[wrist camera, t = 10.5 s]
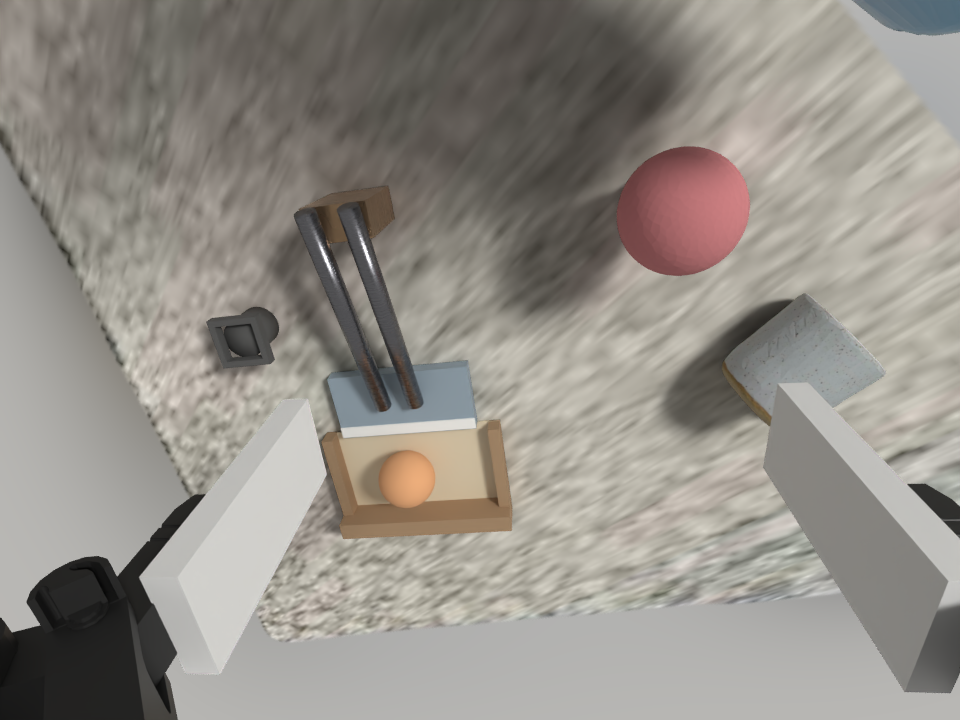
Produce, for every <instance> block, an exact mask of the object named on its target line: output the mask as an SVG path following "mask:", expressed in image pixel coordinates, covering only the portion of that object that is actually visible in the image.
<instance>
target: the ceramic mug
mask: <svg viewBox="0 0 960 720" xmlns="http://www.w3.org/2000/svg"><path fill="white" fill-rule="evenodd" d="M722 372H723V374H724V376H725V378H726V379H727V381H728V382H729V383H730V385H731V386H732V387H733V389H734V390H735V391H736V392H737V394H738V395H739V396H740V397H741V398H742V399H743V401H744V402H745V403H746V404H747V405H748V406H749V407H750V408H751V409H752V410H753V411H754V412H755V413H756V414H757V415H758V416H759V417H760V419H761V420H763V421H764V422H765V423H766V424H767V425H769V426H770V425H771V419H772V413H773V407H774V401H775V396H776V390H777V384H778V383H805V382H808V383H809V384H810V385H811V386H812V387H813V388H814V389H815V390H816V391H817V392H818V393H819V394H820V395H821V396H822V397H823V398H824V400H825V401H826V402H827V403H828V404H829V405H830V406H831V407H832V408H833V407H835V406H837V405H838V404H840V403H841V402H842V401H844V400H846V399H847V398H849V397H851V396H852V395H854V394H856V393H857V392H859V391H861V390H862V389H864V388H866V387H867V386H869V385H871V384H872V383H874V382H876V381H877V380H879V379H880V378H882V377H883V376H884V375H885V374H886V371H885V369H884V368H883V366H882V365H881V364H880V362H878V361H877V359H876V358H874V356H873V355H872V354H871V353H870V352H869V351H868V350H867V349H866V348H865V347H864V346H863V345H862V344H861V343H860V342H859V341H858V340H857V339H856V337H855V336H854V335H853V334H852V333H851V332H850V331H849V330H848V329H847V328H846V327H845V326H843V325H842V324H841V323H840V322H839V321H837V319H836V318H835V317H834V316H833V315H832V314H830V313H829V312H828V311H827V310H826V309H825V308H824V307H822V306H821V305H820V304H819V303H818V302H817V301H816V300H815V299H813V298H812V297H811V296H809V295H808V294H805V293H804V294H802V295H800V296H799V297H797V298H796V299H795V300H794V301H793V302H791V303H790V304H789V305H788V306H787V307H785V308H784V309H783V310H782V311H781V312H780V313H778V314H777V315H776V316H774V317H773V318H772V319H771V320H769V321H768V322H767V323H766V324H764V325H763V326H762V327H761V328H760V329H758V330H757V331H756V332H755V333H754V334H752V335H751V336H750V337H749V338H747V339H746V340H745V341H743V342H742V343H741V344H739V345H738V346H737V347H736V348H735V349H734V350H733V351H732V352H731V353H730V354H729V355H728V356H727V357H726V359H725V360H724V361H723V364H722Z"/></svg>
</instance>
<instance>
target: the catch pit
mask: <svg viewBox="0 0 960 720" xmlns="http://www.w3.org/2000/svg"><path fill="white" fill-rule="evenodd" d="M321 443H322V447H323V450H324V453H325V456H326V460H327V463H328V466H329V469H330V473H331V476H332V479H333V482H334V486H335V489H336V492H337V495H338V499H339V502H340V505H341V508H342V512H343V515H344V516H343V518H342V521H341V523H340V525H339V527H340V530H341V533H342V536H343V539H354V538H374V537H394V536H415V535H435V534H455V533H476V532H496V531H512V502H511V495H510V488H509V481H508V474H507V467H506V460H505V452H504V445H503V438H502V431H501V424H500V420H487V421H477V428H476V429H464V430H450V431H437V432H423V433H410V434H396V435H382V436H369V437H355V438H343V435H342V431H341V432H328V433H327V434H326V435H325V437H324V439H323V440H322V442H321ZM405 450H411V451H415V452H418V453H421V454H422V455H424V456H425V457H426V458H427V459H428V460H429V461H430V462H431V464H432V466H433V468H434V472H435V486H434V489H433V491H432V493H431V495H430V496H429V497H428V499H427V500H426V501H424V502H423V503H422V504H420V505H418V506H416V507H412V508H400V507H397V506H394V505H393V504H391V503H390V502H388V501H387V500H386V499H385V498H384V496H383V495H382V493H381V491H380V488H379V482H378V480H379V472H380V469H381V467H382V465H383V463H384V462H385V461H386V460H387V459H388V458H389V457H390V456H391V455H393V454H395V453H397V452H400V451H405Z"/></svg>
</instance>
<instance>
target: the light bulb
mask: <svg viewBox="0 0 960 720" xmlns="http://www.w3.org/2000/svg"><path fill="white" fill-rule="evenodd" d="M749 210H750V200H749V193H748V189H747V186H746V183H745V181H744V179H743V177H742V175H741V173H740V172H739V171H738V169H737V168H736V167H735V166H734V165H733V164H732V163H731V162H730V161H729V160H728V159H727V158H725V157H724V156H722V155H721V154H718V153H716V152H714V151H711V150H709V149H705V148H701V147H678V148H673V149H669V150H666V151H663V152H661V153H659V154H657V155H655V156H653V157H651V158H650V159H648V160H647V161H645V162H644V163H643V164H642V165H641V166H640V167H638V168H637V170H636V171H635V172H634V173H633V174H632V175H631V177H630V178H629V180H628V181H627V183H626V185H625V186H624V188H623V190H622V193H621V196H620V199H619V202H618V208H617V226H618V231H619V235H620V238H621V240H622V243H623V244H624V246H625V248H626V250H627V251H628V252H629V254H630V255H631V256H632V257H633V258H634V259H635V260H636V261H637V262H638V263H640V264H641V265H643V266H644V267H646V268H647V269H650V270H652V271H654V272H657V273H660V274H665V275H673V276H682V275H690V274H695V273H698V272H701V271H704V270H706V269H708V268H710V267H712V266H714V265H716V264H717V263H719V262H720V261H721V260H723V259H724V258H725V257H726V256H727V255H728V254H729V253H730V252H731V251H732V250H733V249H734V248H735V246H736V245H737V244H738V242H739V240H740V239H741V237H742V235H743V233H744V231H745V228H746V225H747V222H748V217H749Z"/></svg>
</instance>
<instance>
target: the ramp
mask: <svg viewBox="0 0 960 720" xmlns="http://www.w3.org/2000/svg"><path fill="white" fill-rule="evenodd" d="M294 218H295V221H296V223H297V226H298V228H299V230H300V233H301V235H302V237H303V240H304V242H305V244H306V247H307V249H308V251H309V254H310V256H311V258H312V261H313V263H314V265H315V268H316V270H317V272H318V275H319V277H320V280H321V282H322V284H323V287H324V289H325V291H326V294H327V296H328V298H329V301H330V303H331V305H332V308H333V310H334V312H335V315H336V317H337V319H338V322H339V324H340V326H341V329H342V331H343V334H344V336H345V338H346V341H347V343H348V345H349V348H350V350H351V352H352V355H353V357H354V359H355V362H356V364H357V366H358V369H359V371H360V373H361V376H362V378H363V381H364V383H365V385H366V388H367V390H368V392H369V395H370V397H371V399H372V402H373V404H374V406H375V409H376V410H377V411H378V412H385V411H387V410H389V409H390V407H391V405H392V403H391V401H390V398H389V396H388V393H387V390H386V388H385V385H384V383H383V380H382V378H381V375H380V373H379V370H378V367H377V365H376V362H375V360H374V357H373V355H372V352H371V350H370V347H369V345H368V342H367V339H366V337H365V334H364V332H363V329H362V327H361V324H360V322H359V319H358V316H357V314H356V311H355V309H354V306H353V304H352V301H351V299H350V296H349V293H348V291H347V288H346V286H345V283H344V281H343V278H342V276H341V273H340V270H339V268H338V265H337V263H336V260H335V258H334V255H333V253H332V250H331V248H330V245H329V243H337V242H345V241H348V243H349V246H350V248H351V251H352V254H353V257H354V259H355V262H356V265H357V268H358V270H359V273H360V276H361V279H362V281H363V284H364V287H365V290H366V292H367V295H368V298H369V301H370V303H371V306H372V309H373V312H374V314H375V317H376V320H377V323H378V325H379V328H380V331H381V334H382V336H383V339H384V342H385V345H386V347H387V350H388V353H389V356H390V359H391V361H392V364H393V367H394V370H395V372H396V375H397V378H398V381H399V383H400V386H401V389H402V392H403V394H404V397H405V400H406V403H407V405H408V407H409V408H410V409H418V408H420V407H422V405H423V404H424V400H423V397H422V394H421V391H420V388H419V385H418V382H417V379H416V376H415V373H414V370H413V367H412V364H411V361H410V358H409V354H408V351H407V348H406V345H405V342H404V339H403V336H402V333H401V330H400V327H399V324H398V321H397V318H396V315H395V312H394V309H393V306H392V303H391V300H390V297H389V294H388V291H387V288H386V285H385V282H384V279H383V276H382V273H381V270H380V267H379V264H378V261H377V258H376V255H375V252H374V248H373V245H372V242H371V239H370V238H374V237H375V236H376V235H377V234H378V233H379V232H381V231H382V230H383V229H384V228H385V227H386V226H387V225H388V224H389V223H390V222H392V221H393V220H394V219H395V217H394V212H393V207H392V202H391V197H390V192H389V187H388V186H383V187H376V188H368V189H361V190H353V191H346V192H338V193H331V194H329V195H327V196H325V197H323V198H321V199H319V200H317V201H315V202H313V203H310V204H308V205H306V206H304V207H302V208H300V209H299V211H297V212H296V213H295V214H294Z"/></svg>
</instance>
